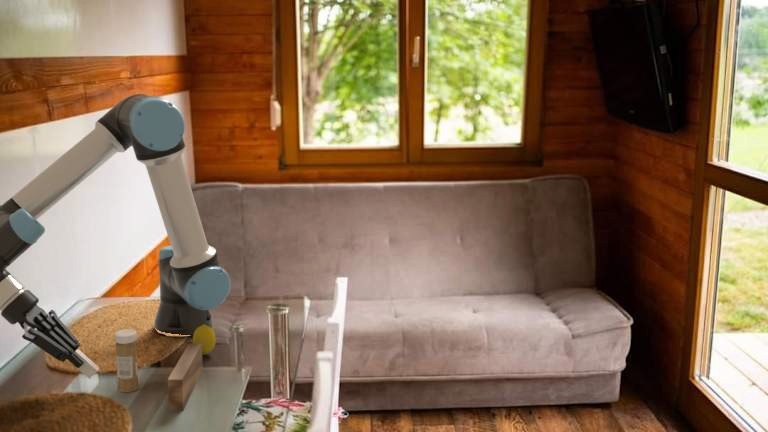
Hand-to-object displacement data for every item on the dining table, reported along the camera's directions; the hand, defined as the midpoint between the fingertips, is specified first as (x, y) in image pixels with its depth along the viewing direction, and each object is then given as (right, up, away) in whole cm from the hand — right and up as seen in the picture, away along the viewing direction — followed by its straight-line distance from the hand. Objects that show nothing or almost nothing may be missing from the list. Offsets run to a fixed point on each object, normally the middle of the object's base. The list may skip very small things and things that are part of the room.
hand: (94, 373), depth 173 cm
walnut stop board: (+20, -4, +1) cm, 21 cm away
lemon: (+20, 0, +21) cm, 29 cm away
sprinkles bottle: (+7, -4, +1) cm, 8 cm away
